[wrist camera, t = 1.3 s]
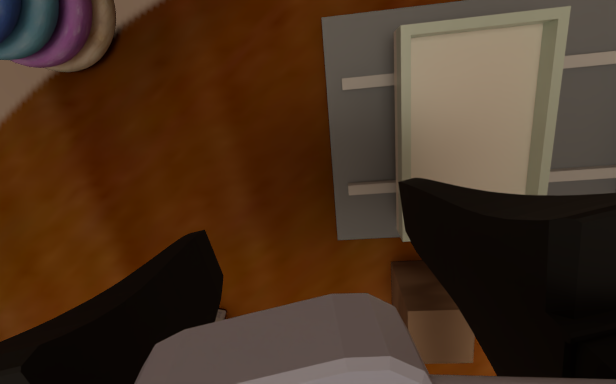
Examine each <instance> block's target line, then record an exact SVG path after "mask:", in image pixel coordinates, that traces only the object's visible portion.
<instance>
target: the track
mask: <svg viewBox="0 0 616 384" xmlns="http://www.w3.org/2000/svg"><path fill="white" fill-rule="evenodd" d="M565 6H571V10H570V18H569V26H568V34H567V42H566V50H565V58H564V65H563V73H562V81H561V89H560V97H559V105H558V112H557V120H556V128H555V136H554V144H553V152H552V160H551V167H550V175H549V183H548V191H547V195H587V194H605V193H616V0H465V1H457V2H449V3H440V4H432V5H424V6H415V7H407V8H398V9H390V10H382V11H373V12H365V13H357V14H348V15H340V16H332V17H323V18H322V31H323V45H324V58H325V72H326V86H327V99H328V113H329V127H330V140H331V154H332V168H333V181H334V195H335V209H336V222H337V236H338V240H351V239H370V238H389V237H400V235H399V233H398V231H397V224H396V157H395V91H394V31H395V30H396V29H397V28H398V27H399V26H400V25H408V24H417V23H426V22H434V21H443V20H452V19H460V18H469V17H478V16H487V15H495V14H504V13H513V12H521V11H530V10H539V9H547V8H556V7H565Z"/></svg>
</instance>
